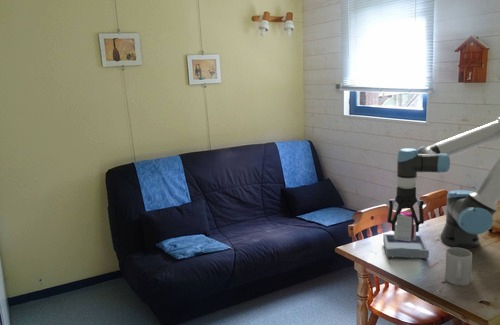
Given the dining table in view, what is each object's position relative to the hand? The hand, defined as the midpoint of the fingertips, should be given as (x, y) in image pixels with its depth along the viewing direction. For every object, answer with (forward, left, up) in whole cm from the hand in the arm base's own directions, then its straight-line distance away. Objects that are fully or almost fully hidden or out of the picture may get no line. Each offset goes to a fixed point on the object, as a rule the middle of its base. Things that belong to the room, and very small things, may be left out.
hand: (404, 238), depth 177 cm
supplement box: (0, 0, -1) cm, 1 cm away
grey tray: (0, 0, -6) cm, 6 cm away
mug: (-15, +24, -7) cm, 29 cm away
